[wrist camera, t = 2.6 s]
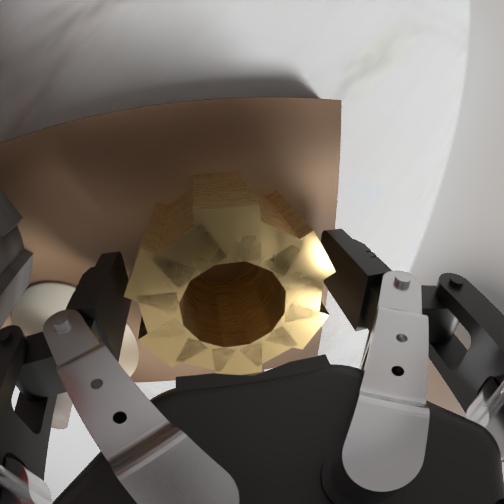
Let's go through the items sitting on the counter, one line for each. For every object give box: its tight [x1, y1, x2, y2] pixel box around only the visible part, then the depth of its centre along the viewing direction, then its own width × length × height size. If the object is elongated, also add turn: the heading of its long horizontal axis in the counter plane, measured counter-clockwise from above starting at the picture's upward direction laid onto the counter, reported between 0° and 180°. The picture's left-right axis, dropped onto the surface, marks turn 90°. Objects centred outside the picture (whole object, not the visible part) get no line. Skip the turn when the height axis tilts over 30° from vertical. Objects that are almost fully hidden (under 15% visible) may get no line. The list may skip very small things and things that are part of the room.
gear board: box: [0, 97, 341, 429], centre depth 10 cm, size 14×21×8 cm
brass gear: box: [124, 171, 336, 375], centre depth 11 cm, size 6×6×4 cm
